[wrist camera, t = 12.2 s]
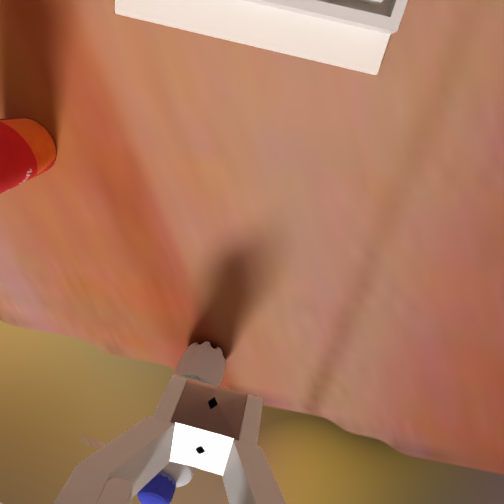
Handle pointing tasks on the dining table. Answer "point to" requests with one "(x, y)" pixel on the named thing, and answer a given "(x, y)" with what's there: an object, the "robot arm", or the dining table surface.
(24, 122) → the coffee cup
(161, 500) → the bottle
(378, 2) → the charcoal key
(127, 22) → the dining table surface
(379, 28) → the keypad base
